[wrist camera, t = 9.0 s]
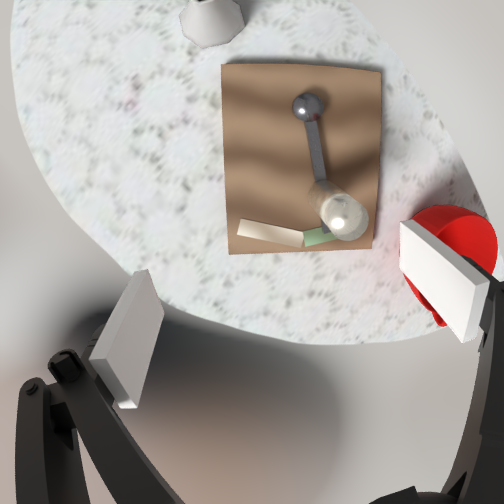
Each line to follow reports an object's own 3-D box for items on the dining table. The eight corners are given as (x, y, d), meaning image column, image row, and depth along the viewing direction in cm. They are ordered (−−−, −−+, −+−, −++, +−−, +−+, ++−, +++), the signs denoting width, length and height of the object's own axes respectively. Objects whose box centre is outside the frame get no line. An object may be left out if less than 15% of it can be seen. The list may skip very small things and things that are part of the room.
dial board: (221, 66, 31) (220, 64, 29) (375, 73, 32) (380, 72, 30) (229, 249, 40) (228, 255, 38) (367, 244, 40) (371, 249, 39)
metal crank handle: (287, 96, 31) (306, 88, 22) (319, 91, 31) (349, 83, 22) (312, 233, 38) (335, 271, 29) (341, 227, 37) (371, 263, 28)
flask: (223, -15, 27) (220, -54, 17) (256, 29, 29) (263, -1, 20) (168, 14, 28) (147, -16, 19) (199, 59, 30) (186, 39, 21)
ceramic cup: (382, 308, 45) (410, 350, 36) (379, 199, 38) (418, 225, 29) (451, 287, 44) (484, 321, 35) (457, 185, 37) (502, 206, 28)
